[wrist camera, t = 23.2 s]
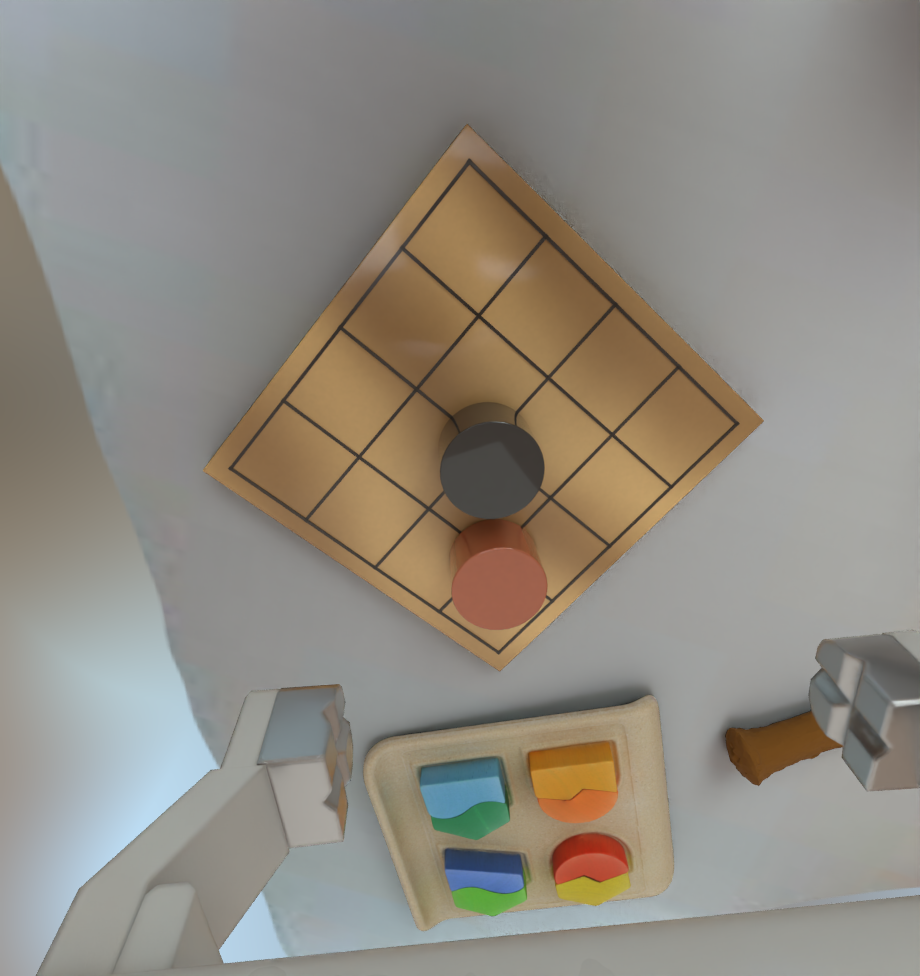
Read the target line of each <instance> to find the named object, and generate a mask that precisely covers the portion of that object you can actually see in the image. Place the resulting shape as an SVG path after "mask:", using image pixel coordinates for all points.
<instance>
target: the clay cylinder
mask: <svg viewBox="0 0 920 976" xmlns="http://www.w3.org/2000/svg"><path fill="white" fill-rule="evenodd" d="M449 572H450V584H451V595H452V600H453V603H454V606H455V607H456V609H457V611H458V612H459V614H460V615H461V616H462V617H463V618H464V619H466V620H467V621H468V622H470V623H471V624H473V625H475V626H478V627H480V628H484V629H489V630H504V629H510V628H514V627H516V626H519V625H521V624H523V623H525V622H526V621H528V620H529V619H531V618H532V617H533V616H534V615H535V614H536V613H537V612H538V611H539V609H540V608H541V607H542V605H543V603H544V601H545V598H546V595H547V589H548V583H547V577H546V573H545V570H544V568H543V565H542V562H541V559H540V556H539V553H538V550H537V548H536V545H535V542H534V540H533V539H532V537H531V536H530V534H529V533H528V532H527V531H526V530H525V529H524V528H522V527H521V526H519V525H517V524H515V523H513V522H510V521H507V520H501V519H489V520H484V521H480V522H477V523H475V524H473V525H471V526H469V527H468V528H466V529H465V530H464V531H462V532H461V533H460V534H459V535H458V537H457V538H456V539H455V541H454V542H453V544H452V547H451V549H450V553H449Z"/></svg>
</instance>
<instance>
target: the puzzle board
mask: <svg viewBox="0 0 920 976" xmlns="http://www.w3.org/2000/svg"><path fill="white" fill-rule="evenodd" d="M363 777H364V782H365V785H366V788H367V791H368V794H369V797H370V799H371V802H372V805H373V808H374V810H375V813H376V816H377V819H378V821H379V824H380V827H381V830H382V832H383V835H384V838H385V841H386V844H387V846H388V849H389V852H390V855H391V857H392V860H393V863H394V866H395V868H396V871H397V874H398V877H399V880H400V882H401V885H402V888H403V891H404V893H405V896H406V899H407V902H408V904H409V907H410V910H411V913H412V916H413V918H414V921H415V924H416V926H417V928H418V929H419V930H421V931H427V930H429V929H431V928H432V927H434V926H435V925H437V924H438V923H440V922H442V921H444V920H446V919H451V918H459V917H469V916H478V915H489V916H496V915H498V914H500V913H506V912H515V911H524V910H534V909H543V908H552V907H562V906H571V905H580V904H588V905H594V906H597V905H600V904H602V903H603V902H608V901H617V900H626V899H635V898H644V897H652V896H656V895H659V894H660V893H662V892H663V891H664V890H666V889H667V888H668V886H669V885H670V883H671V881H672V877H673V873H674V856H673V846H672V835H671V825H670V814H669V804H668V794H667V784H666V774H665V764H664V754H663V744H662V734H661V724H660V714H659V707H658V703H657V701H656V699H655V697H653V696H651V695H647V696H644V697H642V698H640V699H639V700H637V701H635V702H632V703H630V704H626V705H620V706H613V707H606V708H598V709H591V710H584V711H577V712H570V713H562V714H555V715H547V716H540V717H533V718H525V719H518V720H511V721H504V722H496V723H489V724H482V725H475V726H467V727H460V728H453V729H446V730H438V731H431V732H424V733H416V734H409V735H402V736H394V737H390V738H386V739H384V740H382V741H380V742H378V743H377V744H375V745H374V746H373V747H372V748H371V749H370V751H369V752H368V754H367V756H366V758H365V761H364V766H363Z"/></svg>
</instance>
